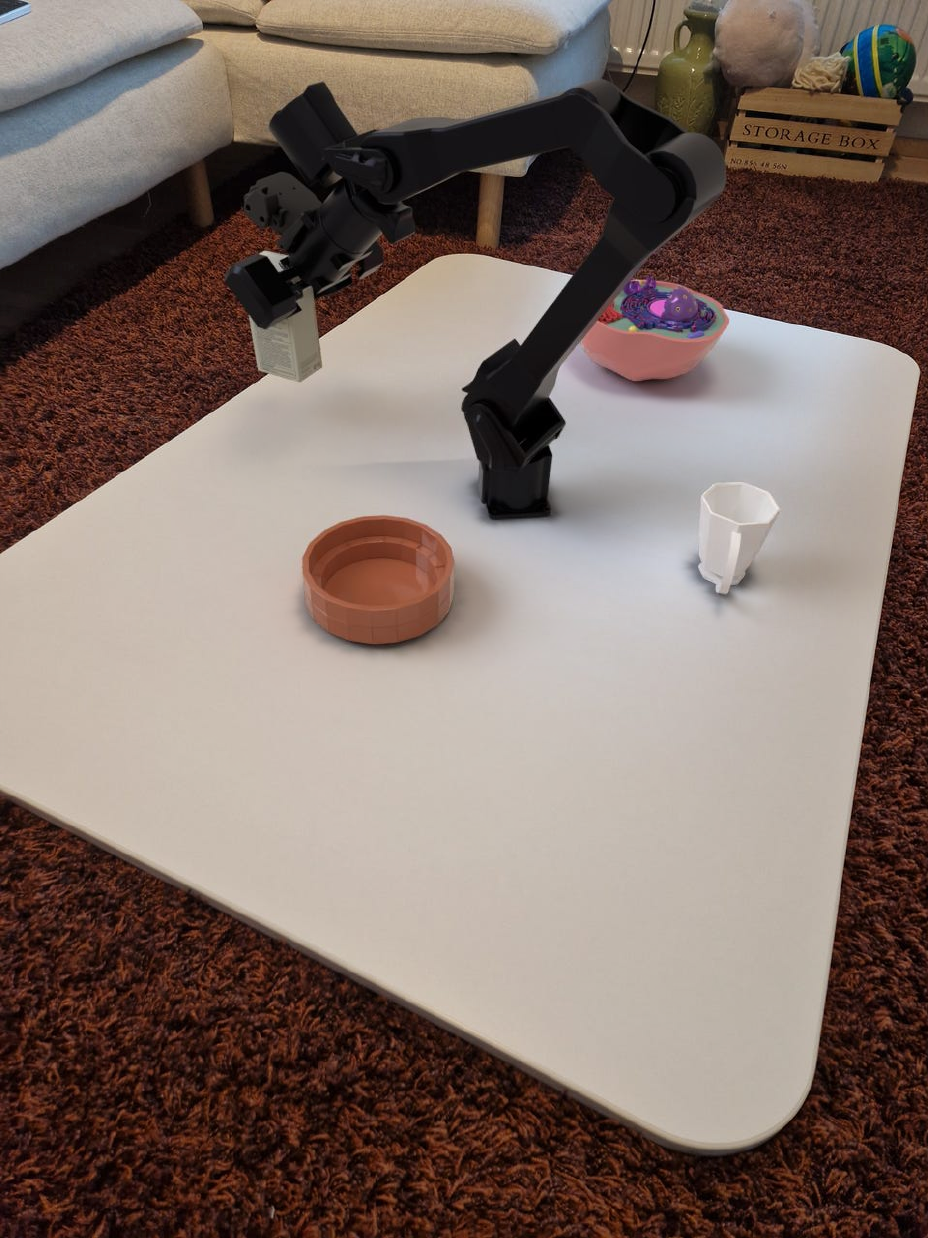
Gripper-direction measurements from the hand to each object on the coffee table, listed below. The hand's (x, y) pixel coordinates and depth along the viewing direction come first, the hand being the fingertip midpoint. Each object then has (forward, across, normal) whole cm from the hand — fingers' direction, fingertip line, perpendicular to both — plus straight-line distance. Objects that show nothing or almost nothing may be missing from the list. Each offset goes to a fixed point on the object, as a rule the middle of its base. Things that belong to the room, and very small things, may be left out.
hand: (272, 310), depth 99 cm
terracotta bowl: (-11, +20, +29) cm, 38 cm away
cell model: (-12, -34, +30) cm, 47 cm away
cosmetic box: (+4, 0, +6) cm, 7 cm away
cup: (-29, 0, +47) cm, 55 cm away
